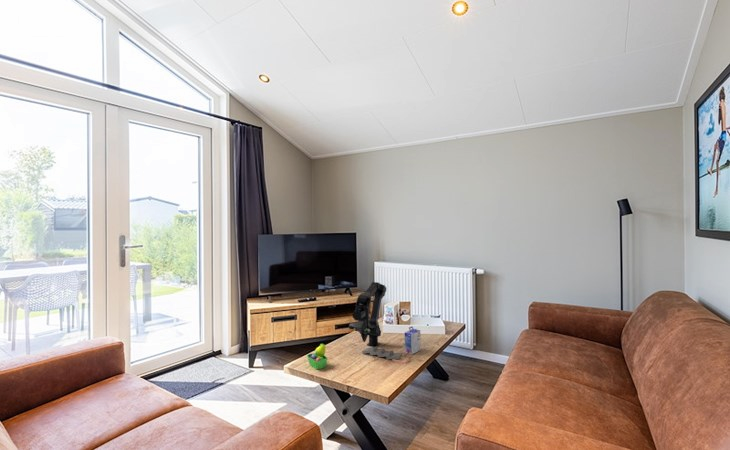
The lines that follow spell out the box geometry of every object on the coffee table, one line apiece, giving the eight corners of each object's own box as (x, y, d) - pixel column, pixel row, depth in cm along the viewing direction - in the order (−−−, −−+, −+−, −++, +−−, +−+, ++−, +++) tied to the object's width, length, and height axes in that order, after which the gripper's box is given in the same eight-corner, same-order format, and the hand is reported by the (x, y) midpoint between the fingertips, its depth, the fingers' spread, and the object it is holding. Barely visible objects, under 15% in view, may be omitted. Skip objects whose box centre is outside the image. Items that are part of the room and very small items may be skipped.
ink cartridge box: (413, 347, 211) (413, 324, 211) (421, 350, 207) (421, 326, 207) (404, 352, 204) (404, 328, 204) (411, 354, 200) (411, 330, 200)
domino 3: (381, 351, 201) (392, 350, 197) (382, 354, 201) (393, 352, 197) (377, 354, 197) (389, 353, 193) (378, 357, 196) (389, 356, 192)
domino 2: (373, 350, 204) (384, 348, 200) (374, 352, 204) (385, 351, 200) (369, 352, 199) (380, 351, 196) (370, 355, 199) (381, 353, 195)
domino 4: (389, 353, 198) (402, 352, 195) (390, 356, 198) (402, 355, 194) (386, 356, 194) (398, 355, 190) (386, 359, 194) (399, 358, 190)
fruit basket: (306, 363, 188) (306, 343, 188) (320, 360, 193) (320, 340, 193) (315, 371, 179) (315, 350, 179) (330, 367, 184) (330, 346, 184)
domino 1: (365, 348, 206) (377, 346, 202) (366, 351, 206) (377, 349, 202) (361, 351, 202) (373, 349, 198) (362, 353, 202) (374, 352, 198)
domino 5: (395, 356, 196) (408, 358, 192) (395, 358, 196) (408, 361, 192) (392, 359, 192) (405, 362, 188) (392, 362, 192) (405, 364, 188)
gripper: (343, 317, 201) (344, 343, 201) (371, 321, 192) (371, 349, 192) (353, 312, 211) (353, 337, 211) (380, 316, 202) (380, 342, 202)
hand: (364, 341), depth 204 cm, fingers closed
